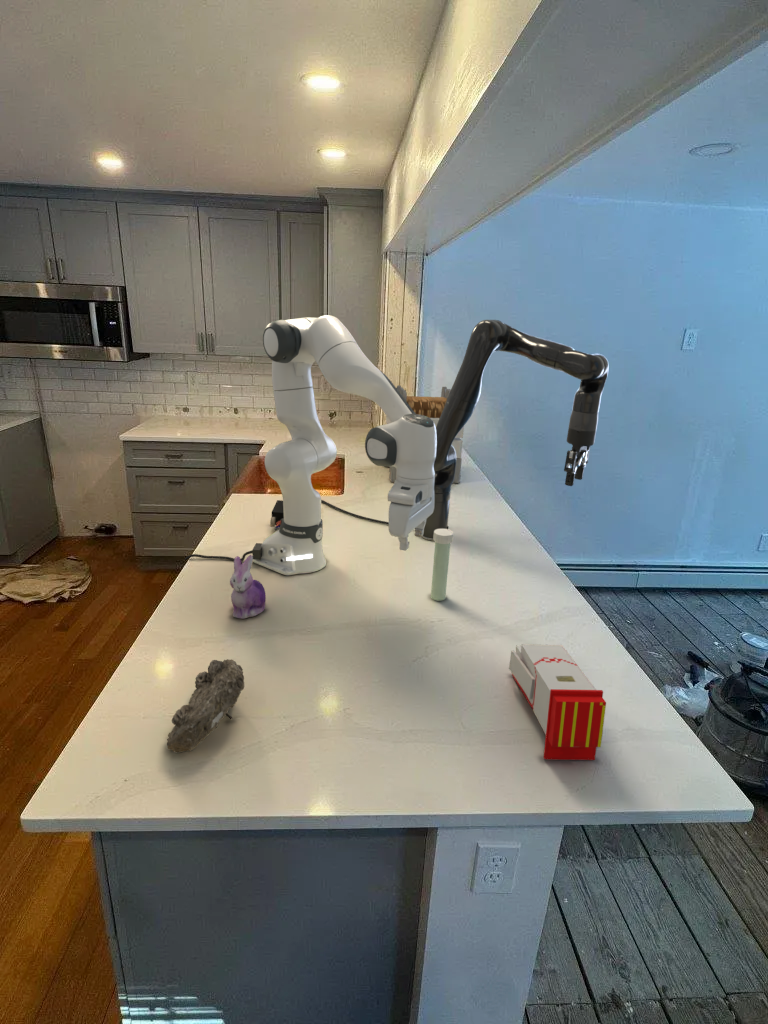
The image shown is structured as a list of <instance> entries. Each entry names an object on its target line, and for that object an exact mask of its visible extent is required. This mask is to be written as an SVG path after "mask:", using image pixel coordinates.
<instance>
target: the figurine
mask: <svg viewBox="0 0 768 1024" xmlns="http://www.w3.org/2000/svg"><path fill="white" fill-rule="evenodd" d="M253 563H254V562H253V556H252V554H249V555H247V557H246V558H245V559H244V560H243V561H241V558H240V556H239V555H237V556H235V557H234V561H233V573H232V575H231V577H230V579H229V585H230V586H231V588H232V589H233V590H232V592H231V594H230V599H231V604H232V606H233V607H232V617H234V618H236V619H248V618H252V617H255V616H258V615H260V614H261V613H262V612H264V611H265V608H266V601H267V600H266V599H267V597H266V590H265V587H264V585H263V584H262V582H260V581H259V580H257V579H254V578H253V576H252V573H251V570H252V569H251V568H252V565H253Z"/></svg>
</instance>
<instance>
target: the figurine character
mask: <svg viewBox="0 0 768 1024" xmlns="http://www.w3.org/2000/svg"><path fill="white" fill-rule="evenodd" d="M283 518H284V510H283V499H282V500H281V499H279V500H276V501H275V504H274V505H273V508H272V510H271V517H270V520H269V521H270V522H269V526H270V527H271V528H272V527H273V528H274V531H275V532H276V531H278V529H279V528H280V525H278V526H276V525H277V524H278V523H277V522H279V521H280V520H281V519H283ZM276 523H277V524H276Z"/></svg>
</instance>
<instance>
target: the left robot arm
mask: <svg viewBox="0 0 768 1024" xmlns="http://www.w3.org/2000/svg"><path fill="white" fill-rule="evenodd" d="M262 345H263V349H264V352H265V353H266V355H267V357H268V358H269V359H270V360H271V385H272V390H273V391H272V392H273V398H274V407H275V411H276V418H277V420H278V421H279V422H280V423H281V424H283V425H285V426H286V428H287V430H288V432H289V434H290V437H291V440H288V441H284V442H280V443H278V444H277V445H275V446H273V447H271V449H269V450H268V451H267V452H266V454H265V456H264V468H265V470H266V473H267V475H268V476H269V477H270V478H271V479H272V480H274V481H275V482H276V483H277V485H278V487H279V489H280V492H281V495H282V497H281V498H282V501H283V510H284V518H283V519H281V520H280V521H279V522H277V523H278V524H277V523H276V524H277V525H275V527H276V526H278V525H280V528H279V527H278V529H277V531H275V532H273V533H272V534H270V535H269V536H267V537H266V538H264V539H263V541H262V542H256V543H255V544H254V546H253V548H252V550H249V551H246V552H245V553H243V554H242V557H241V558H240V559H241V562H244V561H245V560H246V556H249V555H252V556H253V562H252V563H254V564H256V565H259V566H261V567H264V568H267V569H269V570H271V571H274V572H276V573H279V574H282V575H284V576H293V575H298V574H311V573H315V572H318V571H320V570H322V569H324V568H325V567H326V565H327V560H326V557H325V552H324V547H323V534H324V533H323V531H324V530H323V527H324V526H323V525H324V524H323V523H324V522H323V519H322V502H321V500H322V495H321V494H320V492H319V491H318V490H316V489H315V488H314V487H313V484H312V475H313V474H316V473H319V472H322V471H325V469H327V468H328V467H330V466H331V465H332V464H333V463H334V462H335V460H336V458H337V455H338V454H337V453H338V450H337V446H336V444H335V442H334V441H333V439H332V437H330V436H328V435H327V434H326V433H325V431H324V430H325V429H324V428H323V426H322V424H321V422H320V419H319V416H318V411H317V407H316V400H315V392H314V384H313V377H312V366H313V365H314V363H316V365H317V366H318V368H319V370H320V372H321V373H322V375H323V378H324V379H325V381H326V382H327V383H328V384H329V385H330V386H331V387H332V388H333V389H335V390H336V391H339V392H341V393H344V394H349V395H354V396H357V397H358V396H359V397H362V398H365V399H368V400H369V401H372V402H373V403H375V404H376V405H377V406H378V407H379V408H380V409H381V410H382V412H383V413H384V414H385V417H386V416H387V417H388V418H389V420H390V421H391V422H392V423H389V424H387V423H385V424H382V425H377V426H375V427H372V428H370V430H369V431H368V432H367V434H366V437H365V440H364V449H365V450H364V451H365V454H366V457H367V458H368V460H369V461H370V462H371V463H372V464H373V465H375V466H378V467H387V466H394V467H395V468H396V470H397V471H396V480H395V482H393V485H392V487H391V488H390V490H389V491H388V493H387V502H390V504H389V506H388V522H389V525H388V531H389V534H390V536H391V537H396V538H397V539H398V542H399V550H400V551H405V552H406V551H408V549H410V541H409V534H410V533H412V532H413V531H414V536H415V537H418V538H422V537H421V536H422V535H423V534H424V527H425V524H426V519H427V518H428V517H429V516H430V515H431V514H432V513H433V511H434V481H435V471H434V461H435V459H436V451H437V433H436V427H435V424H434V422H433V420H431V419H430V418H429V417H426V416H424V415H419V414H416V413H415V412H414V411H413V410H412V408H411V407H410V406H409V404H408V403H407V402H406V400H405V399H404V398H403V396H402V395H401V394H400V392H399V391H398V390H397V386H395V384H394V383H393V382H392V381H391V380H390V378H389V377H388V376H387V375H386V374H385V373H384V372H383V371H382V370H380V369H379V368H378V367H377V366H376V365H374V364H373V362H372V361H371V360H370V358H368V357H367V356H366V354H365V353H364V352H363V350H362V349H361V348H360V346H359V344H358V342H357V341H356V339H355V338H354V336H353V335H352V334H351V332H350V331H349V329H348V328H347V327H346V326H345V324H344V323H342V321H341V320H340V319H339V318H338V317H336V316H334V315H331V314H330V315H329V314H325V315H321V316H318V317H312V316H311V317H310V316H308V317H307V316H302V317H298V318H291V319H290V318H289V319H277V320H275V321H271V322H270V323H268V324H267V325H266V327H265V328H264V331H263V334H262ZM415 528H416V529H415ZM190 558H202V559H211V560H212V559H216V560H229V561H232V562H234V559H235V557H231V556H220V555H204V554H197V553H193V554H189V555H187V556H186V557H185V558H184V560H185V561H187V560H189V559H190Z"/></svg>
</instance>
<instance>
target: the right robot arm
mask: <svg viewBox="0 0 768 1024" xmlns="http://www.w3.org/2000/svg"><path fill="white" fill-rule="evenodd" d="M467 343H468V344H467V347H466V350H465V354H464V357H463V360H462V363H461V364H460V367H459V370H458V372H457V374H456V377H455V379H454V382H453V384H452V386H451V387H450V390H451V391H450V393H449V395H448V398H447V400H446V403H445V406H444V408H443V411H442V413H441V416H440V418H439V421H438V423H437V426H436V433H437V451H436V459H435V461H434V471H435V481H434V511H433V513H432V514H431V515H430V516H429V517H428V518H427V519H426V524H425V527H424V534H423V535H422V536H421V537H420V538H421V539H424V540H426V541H432V542H435V541H434V540H433V536H434V531H435V530H436V529H448V530H449V526H448V525H449V517H450V516H449V514H450V504H451V494H452V493H451V491H452V485H453V484H454V483H453V481H454V476H455V468H456V451H455V449H454V447H453V446H452V445H451V444H452V442H453V440H454V438H455V437H456V435H457V434H458V433H459V431H460V430H461V429H462V428H463V426H464V427H465V425H466V424H467V423H468V421H469V420H470V418H471V417H472V415H473V414H474V411H475V409H476V407H477V404H478V402H479V400H480V397H481V392H482V381H483V375H484V371H485V368H486V366H487V364H488V362H489V359H490V358H491V356H492V354H493V353H495V352H505V353H511V354H515V355H518V356H521V357H524V358H526V359H528V360H530V361H531V362H533V363H535V364H538V365H540V366H542V367H545V368H549V369H552V370H555V371H559V372H562V373H564V374H566V375H568V376H571V377H573V378H575V379H577V380H580V383H579V387H578V389H577V390H576V391H575V394H574V397H573V403H572V410H571V414H570V417H569V422H568V429H567V436H566V442H567V444H569V445H571V446H572V447H571V449H570V450H569V449H568V450H567V451H566V456H565V462H564V468H563V471H564V472H565V473H566V475H565V481H564V485H565V486H567V487H573V486H574V483H575V480H579V481H582V480H583V478H584V472H585V468H586V467H587V465H588V463H589V458H590V451H591V447H593V446H594V444H595V441H596V436H597V435H596V434H597V430H598V423H599V412H600V406H601V400H602V394H603V392H604V389H605V385H606V382H607V379H608V375H609V367H610V366H609V361H608V359H607V358H606V356H605V355H603V354H602V353H601V354H600V353H592V354H591V353H587V352H583V351H579V350H576V349H574V348H573V347H572V346H569V345H566V344H563V343H560V342H556V341H552V340H550V339H545V338H542V337H537V336H534V335H531V334H528V333H526V332H523V331H521V330H518V329H517V328H514V326H513V327H512V326H510V325H509V324H507V323H505V322H503V321H501V320H499V319H483V320H481V321H479V322H478V323H476V324H475V326H474V328H473V329H472V331H471V333H470V336H469V340H468V342H467ZM321 504H325V505H326V506H328V507H330V508H333V509H334V510H336V511H339V512H342V513H344V514H346V515H349V516H352V517H355V518H358V519H362V520H365V521H370V522H373V523H377V524H383V525H387V526H389V521H385V520H379V519H375V518H370V517H367V516H362V515H359V514H357V513H353V512H350V511H348V510H345V509H343V508H340V507H338V506H336V505H333V504H331V503H330V502H327V501H325V500H323V499H321ZM415 529H416V528H415ZM415 529H414V530H415Z"/></svg>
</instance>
